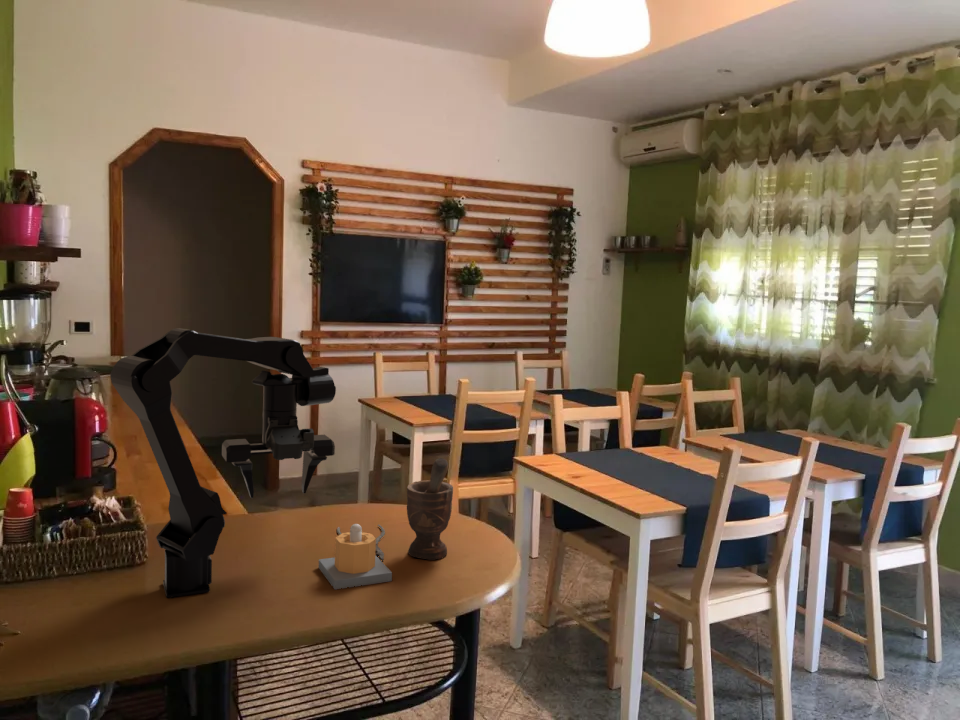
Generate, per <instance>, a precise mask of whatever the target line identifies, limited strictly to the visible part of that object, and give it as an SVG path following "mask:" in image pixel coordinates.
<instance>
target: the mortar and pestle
mask: <svg viewBox="0 0 960 720" xmlns="http://www.w3.org/2000/svg"><path fill="white" fill-rule="evenodd" d="M448 469H449V463H448V460H447V459H445V458H441V457H440V458H436V459H435V460H434V462H433V464H432V466H431V472H430V479H429V480H427V479H426V480H418V481H414V482H412V483H408V485H407V488H406V500H407V501H406V515H407V519H408V524H409V526H410V528H411V530H413V532H414V533H415V538H414V540H413V541H412V542H411V543H410V545H409V548H408V551H407V553H408V555H409V556H411V557H413V558H417V559H423V560H428V561H435V560H441V559H443V558H444V557H446V556H447V554H448V549H447V545H446V543H445V542H444V541H442V539H441V534H442V533H443V532H444V531H445V530H446V529H447V528H448V525H449V523H450V519H451V516H452V515H451V514H452V509H453V506H452V505H453V503H452V502H453V494H454V486H453V485H452V484H450V483H449V482H446V481H444V479H445V478H446V474H447V472H448Z"/></svg>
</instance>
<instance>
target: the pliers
mask: <svg viewBox="0 0 960 720" xmlns="http://www.w3.org/2000/svg"><path fill="white" fill-rule="evenodd" d="M377 526H379V527H380V528H381V530H380V531H382V532H381V533H380V534H379V535H378V536H377V537H375V538H376V551H375V555H376V556H379V557H378V558H379V559H381V560H382V561H383V560H384V557H385V553H384V552H383V550H382V549H381V548H380V547H379V546H378V544H379V543H378V542H380V541H381V540H382V539H383V538H384V537H385V536H384V535H386V530H385V528H384V527H383V526H382V525H381V524H377ZM336 533H338V534H339V535H340V534H342V533H343V532H341V527H340V526H338V527H337V528H336ZM338 534H337V535H338ZM339 535H338V536H339ZM383 536H384V537H383ZM382 537H383V538H382ZM381 538H382V539H381ZM380 539H381V540H380ZM383 562H384V561H383Z"/></svg>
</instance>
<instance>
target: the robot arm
mask: <svg viewBox="0 0 960 720" xmlns="http://www.w3.org/2000/svg"><path fill="white" fill-rule="evenodd" d="M193 356H199V357H201V356H202V357H209V358H210V357H211V358H219V359H227V360H236V361H244V362H247V363H250V364H253V365H255V366H258V367H261V368H264V369H268V370H274V371H277V372H278V373H275V374H272V373H271V371H267V370H261V371H260V373H259V374H258V375H256V377H254V378H253V379H252V380H251V383H252V384H253V385H257V386H262V388H263V389H262V390H263V393H262V397H263V399H262V402H263V403H262V435H261V437H262V438H261V441H262V442H261V443H259V442H258V443H250V442H249V441H248V440H247V439H246V438H237V439H225V440H224V441H223V442H222V443H221V456H222V458H223V459H224V461H225V462H226V463H231V464H232V465H233V466H234V467H238V468H239V470H240V472H241V474H242V476H243V479H244V482H245V485H246V489H247V492H248V495H249V497H250V498H251V499H254V495H255V494H254V491H255V489H254V488H255V487H254V480H253V478H254V477H253V462H252V461H251V460H250V458H251V457H252V455H253V456H254V455H265V454H267V455H269V454H272V457H273V459H275V460H277V461H284V460H287V459H289V460H290V459H294V460H299V459H301V458H302V457H303V458H302V469H301V470H302V473H301V491H302V494H306V493H307V491H308V487H309V486H310V483H311V480H312V478H313V475H314V473H315V471H316V469H317V467H318V466H319V464H320V463H321V462H323V461H327V460H328V457H329V456H331V457H332V456H335V454H336V453H335V450H336V446H335V442H334V440H333V439H331V438H330V437H329V436H327V434H315V431H314V429H313V428H311V427H310V428H302V429H300V428H299V424H298V423H299V422H298V416H297V409H298V408H297V405H298V406H300V407H305V406H314V405H322V404H329V403H331V402H332V401H334V399H335V397H336V393H337V392H336V391H337V387H336V385H335V382H334V379H333V378H332V376H331V375H330V374H329V370H330V369H329V367H324V366H317V367H314V368H312V366H311V364H310V362H309V361H308V359H307V357H306V356H305V354H304V349H303V347H302V345H301V342H300V341H298V340H295V339H292V338H291V339H290V338H284V337H276V336H264V337H263V336H262V337H253V338H241V337H240V338H239V337H234V336H233V337H232V336H225V335H220V334H219V335H218V334H211V333H203V332H197V331H195V330H191V329H188V328H182V327H181V328H180V327H179V328H176V327H175V328H172V329H171V330H169V331H167V332H166V333H165V334H163V336H161V337H160V338H159V339H156V340H155V341H152V342H151V343H149V344H147V345H144V346H143V347H142V348H139V349H138V350H136V351H135V352H134V353H132V355H128V356H123V357H122V358H120V359H119V360H117V361H116V363H115V364H114V365H113V368H112V370H111V371H110V381H111V384H112V386H113V387H114V389H115V390H116V391H117V393H118V395H119V397H120V398H121V399H122V401H123V402H124V403H125V404H126V405H127V406H128V407H129V408H130V410H132V412H133V413H134V414H135V415H136V416H137V418H138V419H139V421H140V424H141V426H142V429H143V432H144V434H145V437H146V439H147V442H148V444H149V446H150V448H151V451H152V454H153V456H154V459H155V461H156V463H157V466H158V468H159V470H160V473H161V475H162V477H163V480H164V482H165V485H166V488H167V490H168V493H169V501H168V513H169V521H168V522H167V523H166V524H165V526H164V527H163V528H162V529H161V531H160V532H159V533H158V534H157V535H156V537H155V539H156V541H157V544H158V546H159V547H160V548H161V549H164V579H163V580H162V582H163V583H162V584H163V588H164V593H165V598H173V597H175V598H176V597H182V596H183V597H184V596H188V595H195V594H202V593H210V589H211V588H210V584H212V581H213V580H212V579H213V578H212V576H213V575H212V574H213V573H212V572H213V571H212V569H213V568H212V567H213V561H212V558H211V556H212V555H214V553H215V550H216V547H217V546H218V545H217V544H218V541H219V538H220V536H221V534H222V532H223V529H224V528H225V527H226V521H225V517H224V516H225V515H227V514H228V513H227V511H226V510H224V507H223V506H222V502H221V497H220V495H219V493H218V492H216V491H215V490H214V491H213V490H211V489H209V488H206V487H204V486H201V484H200V482H199V479H198V477H197V474H196V471H195V469H194V466H193V463H192V461H191V458H190V455H189V454H188V451H187V449H186V446H185V443H184V441H183V438H182V436H181V433H180V431H179V428H178V425H177V423H176V421H175V418H174V415H173V413H172V407H171V406H172V405H171V404H172V398H173V389H172V384H171V382H172V380H173V379H174V378H176V377H177V376H179V374H180V373H181V372H182V371H183V369H184V368H185V366H186V364H187V363H188V361H189V360H190V359H191V358H193ZM288 375H291V377H289V376H288Z"/></svg>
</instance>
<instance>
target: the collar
mask: <svg viewBox="0 0 960 720" xmlns="http://www.w3.org/2000/svg"><path fill="white" fill-rule="evenodd" d="M341 533H342V534H340V535H337V536H336V537H335V538H334V539H335V543H334V557H335V567H336V568H337V569H338V570H339V571H341V572H346V573H351V574H355V573H362V572H368V571H370V570H371V569H372V568H373V567H375V555H376V553H375V551H376V538H377V537H375V536H374V534H372V533H369V532H364V531H362V540H361V542H350V531H349V532H348V531H347V532H341Z"/></svg>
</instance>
